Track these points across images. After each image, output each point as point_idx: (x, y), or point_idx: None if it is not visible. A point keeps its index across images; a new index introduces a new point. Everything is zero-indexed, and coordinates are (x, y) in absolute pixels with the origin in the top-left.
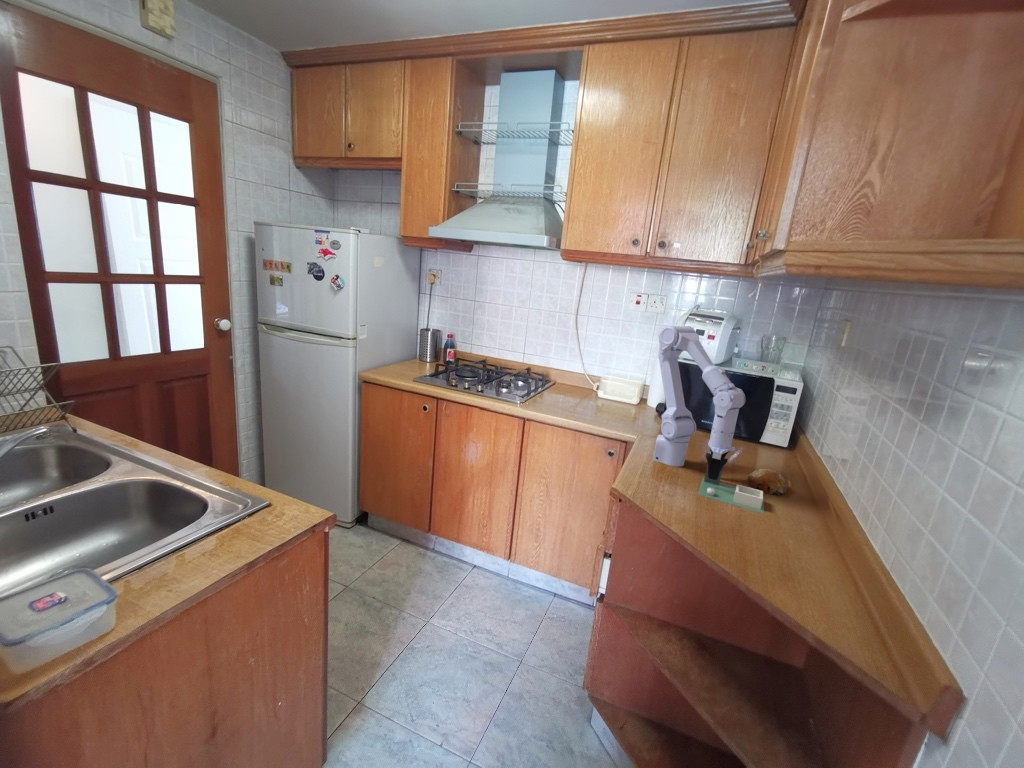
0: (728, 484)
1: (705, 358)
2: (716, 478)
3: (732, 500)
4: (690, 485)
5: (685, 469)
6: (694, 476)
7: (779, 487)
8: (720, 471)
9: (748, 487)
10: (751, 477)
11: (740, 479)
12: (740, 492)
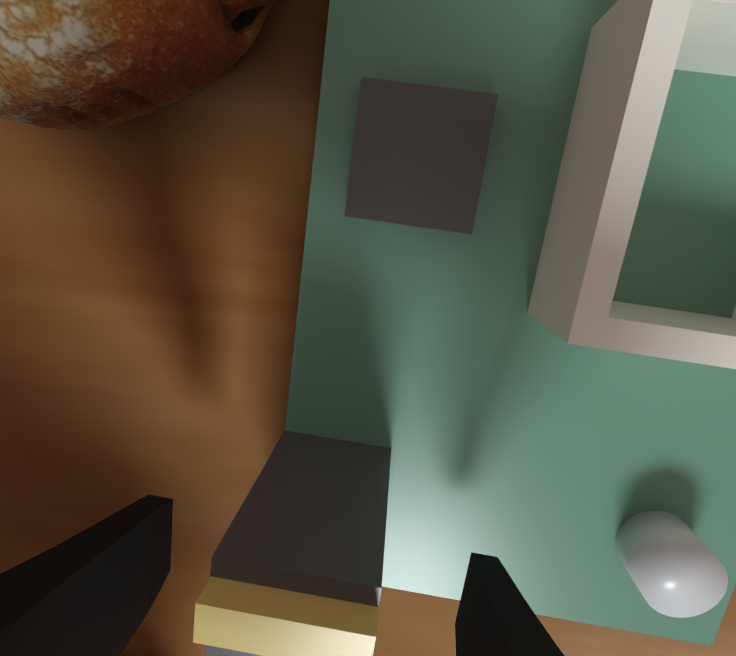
0: (299, 349)
1: None
2: (509, 576)
3: None
4: (450, 641)
5: (126, 650)
6: None
7: None
8: (381, 575)
9: (616, 185)
10: (76, 81)
11: (4, 189)
12: None
